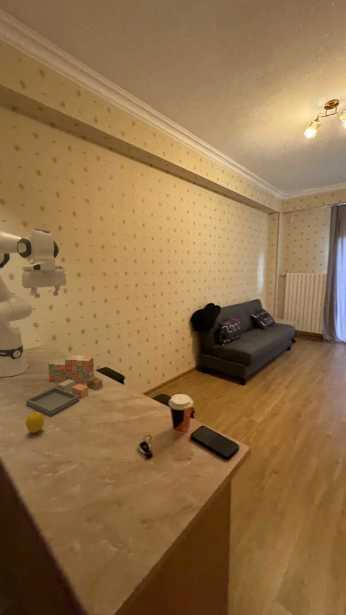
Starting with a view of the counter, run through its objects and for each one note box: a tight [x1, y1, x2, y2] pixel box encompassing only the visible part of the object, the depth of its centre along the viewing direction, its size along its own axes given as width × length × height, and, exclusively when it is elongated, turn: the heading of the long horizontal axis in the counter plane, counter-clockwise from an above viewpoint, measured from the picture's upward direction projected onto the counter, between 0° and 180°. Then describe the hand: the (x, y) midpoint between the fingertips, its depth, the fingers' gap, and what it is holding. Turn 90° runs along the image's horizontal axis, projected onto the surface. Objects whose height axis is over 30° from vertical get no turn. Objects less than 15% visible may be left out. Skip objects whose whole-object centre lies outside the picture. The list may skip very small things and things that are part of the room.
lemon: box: [25, 411, 45, 434], centre depth 94 cm, size 6×6×8 cm
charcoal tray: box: [25, 386, 80, 418], centre depth 114 cm, size 16×14×2 cm
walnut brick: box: [86, 376, 103, 391], centre depth 129 cm, size 6×4×4 cm, turn 60°
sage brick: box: [57, 379, 76, 392], centre depth 126 cm, size 4×6×4 cm, turn 150°
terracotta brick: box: [71, 383, 89, 399], centre depth 122 cm, size 6×4×4 cm, turn 60°
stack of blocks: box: [47, 354, 95, 385], centre depth 136 cm, size 21×6×12 cm, turn 84°
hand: (46, 296), depth 123 cm, fingers open, 8 cm apart
